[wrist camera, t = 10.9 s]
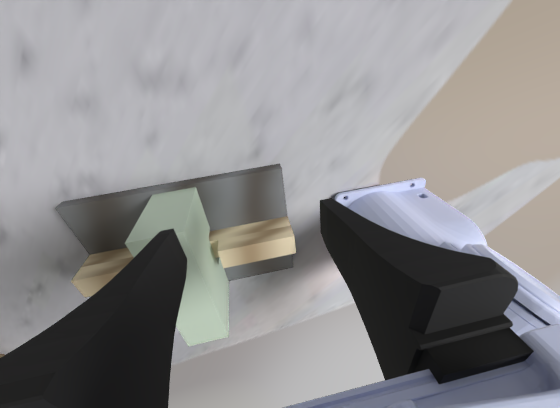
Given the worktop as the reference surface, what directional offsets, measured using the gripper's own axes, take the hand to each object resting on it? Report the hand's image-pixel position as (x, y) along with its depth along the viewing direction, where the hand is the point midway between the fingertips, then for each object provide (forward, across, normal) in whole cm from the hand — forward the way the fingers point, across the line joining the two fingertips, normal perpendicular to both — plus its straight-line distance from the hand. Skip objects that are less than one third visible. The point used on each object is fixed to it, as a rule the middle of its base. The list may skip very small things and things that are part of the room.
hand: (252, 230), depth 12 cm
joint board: (+10, +6, +7) cm, 14 cm away
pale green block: (+9, +6, +7) cm, 13 cm away
